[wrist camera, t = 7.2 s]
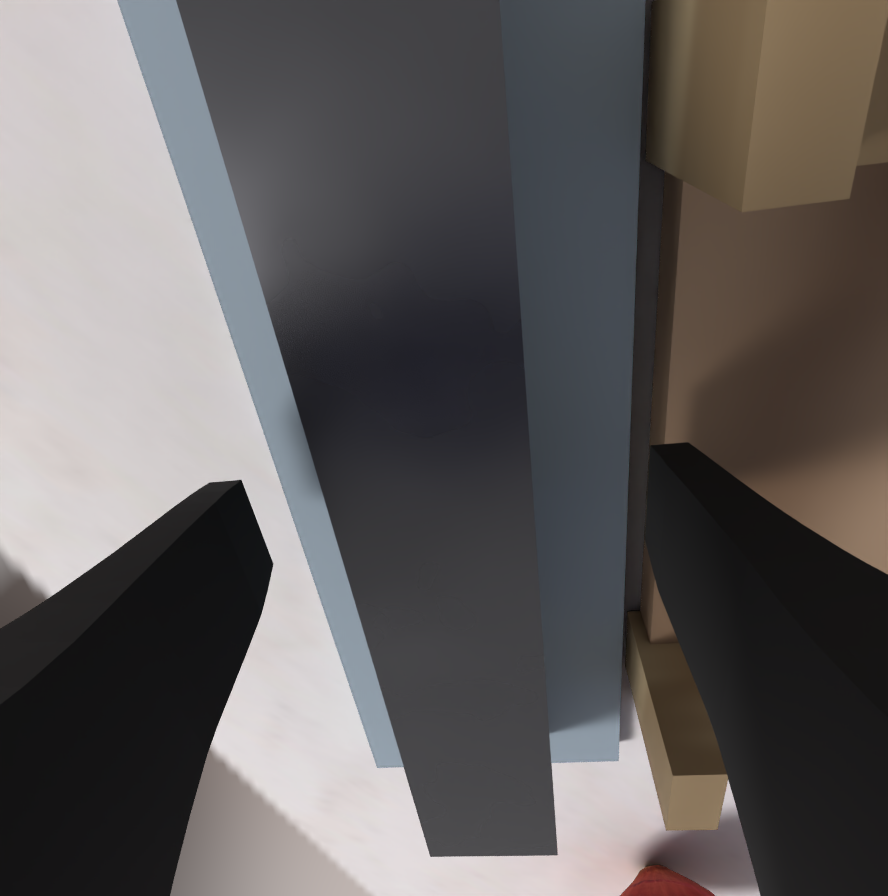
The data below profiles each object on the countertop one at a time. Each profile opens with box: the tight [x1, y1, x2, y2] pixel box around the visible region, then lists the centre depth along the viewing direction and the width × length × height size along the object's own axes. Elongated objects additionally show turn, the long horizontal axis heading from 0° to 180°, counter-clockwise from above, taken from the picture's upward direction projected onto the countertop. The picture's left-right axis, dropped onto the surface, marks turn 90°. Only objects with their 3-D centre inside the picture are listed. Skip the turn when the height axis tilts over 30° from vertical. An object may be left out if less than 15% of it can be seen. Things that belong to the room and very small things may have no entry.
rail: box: [176, 0, 558, 857], centre depth 11 cm, size 3×18×3 cm, turn 8°
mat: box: [117, 0, 645, 768], centre depth 12 cm, size 7×21×1 cm, turn 7°
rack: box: [625, 0, 888, 831], centre depth 9 cm, size 6×17×6 cm, turn 8°
